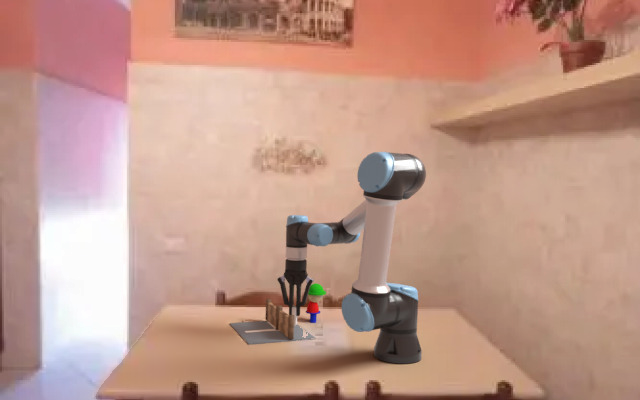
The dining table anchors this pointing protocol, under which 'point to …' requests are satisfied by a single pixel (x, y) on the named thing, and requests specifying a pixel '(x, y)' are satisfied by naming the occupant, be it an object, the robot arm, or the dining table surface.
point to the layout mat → (265, 332)
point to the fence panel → (286, 324)
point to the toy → (314, 301)
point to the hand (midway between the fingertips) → (294, 324)
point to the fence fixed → (273, 313)
